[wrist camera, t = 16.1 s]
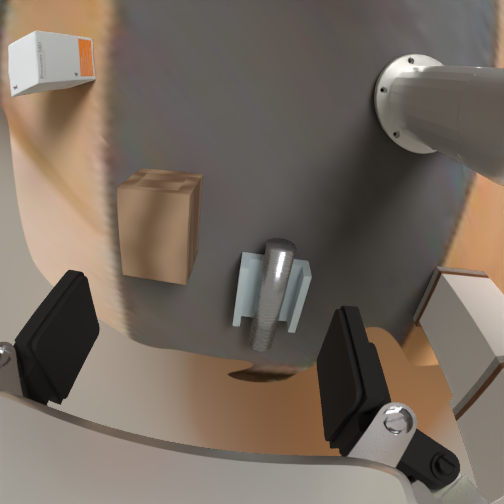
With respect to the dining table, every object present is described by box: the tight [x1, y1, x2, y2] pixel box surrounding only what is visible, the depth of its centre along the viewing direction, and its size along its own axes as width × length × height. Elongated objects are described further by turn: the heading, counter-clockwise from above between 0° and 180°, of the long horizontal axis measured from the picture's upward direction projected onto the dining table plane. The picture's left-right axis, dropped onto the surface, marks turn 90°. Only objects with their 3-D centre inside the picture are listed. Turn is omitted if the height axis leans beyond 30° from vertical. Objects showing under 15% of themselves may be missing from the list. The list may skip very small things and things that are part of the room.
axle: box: [248, 238, 296, 352], centre depth 42 cm, size 17×4×4 cm, turn 172°
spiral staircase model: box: [412, 266, 504, 504], centre depth 30 cm, size 11×11×35 cm
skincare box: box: [8, 31, 96, 97], centre depth 24 cm, size 6×4×12 cm
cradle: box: [233, 252, 312, 333], centre depth 43 cm, size 9×10×4 cm
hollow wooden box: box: [117, 168, 203, 285], centre depth 36 cm, size 8×11×8 cm
